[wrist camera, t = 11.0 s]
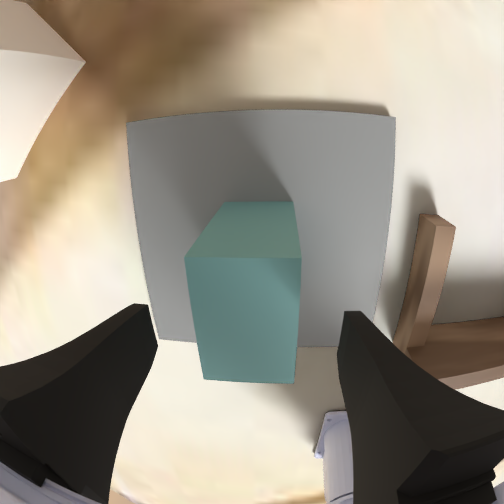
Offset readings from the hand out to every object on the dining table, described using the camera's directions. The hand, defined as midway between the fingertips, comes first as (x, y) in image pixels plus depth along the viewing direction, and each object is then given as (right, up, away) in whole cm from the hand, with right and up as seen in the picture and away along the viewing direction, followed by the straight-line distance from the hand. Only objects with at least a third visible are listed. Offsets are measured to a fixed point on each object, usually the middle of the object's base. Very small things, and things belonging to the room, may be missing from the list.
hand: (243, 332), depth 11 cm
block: (+1, +3, +8) cm, 9 cm away
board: (+1, +4, +9) cm, 9 cm away
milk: (-19, +17, +5) cm, 26 cm away
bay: (+19, 0, +8) cm, 21 cm away
